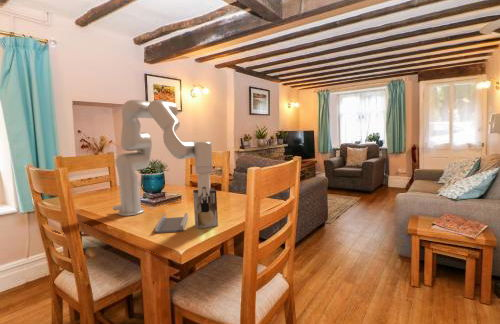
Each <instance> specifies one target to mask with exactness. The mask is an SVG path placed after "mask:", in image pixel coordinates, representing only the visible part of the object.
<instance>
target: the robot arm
mask: <svg viewBox="0 0 500 324" xmlns="http://www.w3.org/2000/svg"><path fill="white" fill-rule="evenodd" d="M177 115H178V106H177V105H176V104H175V103H174V102H173V101H170V100H163V99H156V100H152V101H150V100H149V101H148V100H144V99H143V100H141V99H130V100H127V101H125V102H124V103H123V105H122V108H121V121H122V124H121V125H122V126H121V135H120V147H121V148H122V150H123V151H127V152H123V153H121V154H119V155H117V157H116V158H115V167H116V170H117V174H118V175H117V176H118V183H119V197H120V204H119V205H113V206H112V209H113V210H114V211H118V212H117V214H118V215H119V216H123V217H129V216H135V215H140V214H142V213H144V212H145V208H143V207H142V205H141V203H142V202H141V189H140V178H139V175H138V174H137V172H136V171H139V170H145V169H146V168H147V169H148V167H149V165H150V161H151V155H152V147H153V141H152V138H151V135H150V134H149V133H147V132H144V131H141V127H142V126H141V123H140V120H139V119H140V118H141V119H153V121H155V122H156V124H157V125H158V127H160V129H161V130H162V133H163V134H162V138H163V143H164V145H165V148H167V151H168V152H169V153H170V154H171V155H172V156H173V157H174V158H175V159H177V160H185V159H186V160H187V159H194V168H195V170H194V172H195V175H197V190H198V197H200V196H201V199H202V203H201V212H209V203H208V197H209V195H210V188H211V174H214V170H213V167H214V165H213V148H212V147H213V146H212V145H213V144H212V142H210V141H196V140H187V141H186V140H184V141H181V140H180V139H179V138H178V136H177V135H176V133H175V132H176V131H178V129H179V127H180V120H179V119H178V118H177ZM132 151H134V152H132ZM202 192H203V196H202ZM206 194H207V196H206Z"/></svg>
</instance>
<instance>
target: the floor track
mask: <svg viewBox="0 0 500 324" xmlns="http://www.w3.org/2000/svg"><path fill="white" fill-rule="evenodd" d="M188 218H189V217H188V213H187V212H186V213H185V212H184V214H183V216H180V217H177V216H176V217H167V216H166V214H163V215H162V216H161V217H160V219H159V220H158V222H157V223H156V225H155V226H154V231H155V233H154V234H163V233H164V234H165V233H167V234H168V233H179V232H184V231H185V228H186V225H187V223H188Z"/></svg>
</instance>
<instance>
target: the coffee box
mask: <svg viewBox="0 0 500 324" xmlns="http://www.w3.org/2000/svg"><path fill="white" fill-rule="evenodd" d="M192 192H193V194H192V196H193V210H194V211H193V212H194V225H195V227H196V228H197V229H198V230H199V229H204V228H205V229H206V228H212V227H216V226H217V227H218V226H219V219H218V201H217V200H218V199H217V190H216V189H215V188H213V187H210V195H209V197H208V203H209V212H201V203H202V199H201V196H200V197H198V189H193V190H192ZM202 196H203V192H202ZM206 196H207V194H206Z"/></svg>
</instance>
